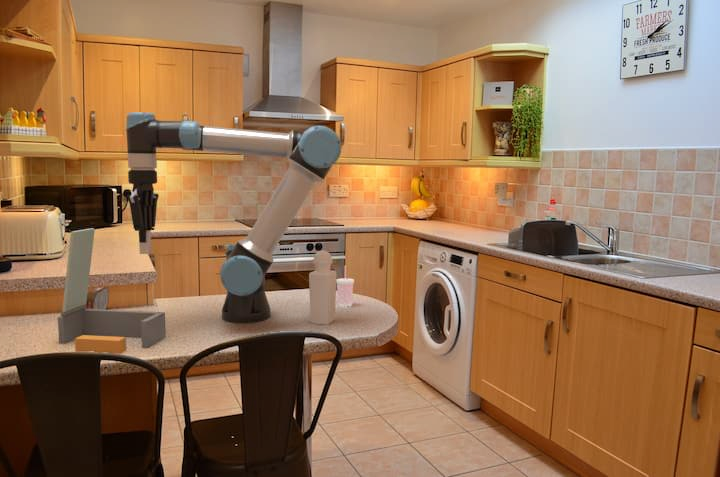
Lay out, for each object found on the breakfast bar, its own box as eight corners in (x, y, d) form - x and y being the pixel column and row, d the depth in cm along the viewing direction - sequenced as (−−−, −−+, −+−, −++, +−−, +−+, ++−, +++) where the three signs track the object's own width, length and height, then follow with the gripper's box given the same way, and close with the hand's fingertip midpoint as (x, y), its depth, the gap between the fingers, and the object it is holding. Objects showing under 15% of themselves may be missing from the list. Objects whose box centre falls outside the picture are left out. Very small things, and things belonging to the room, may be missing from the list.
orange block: (126, 350, 151) (125, 337, 151) (119, 354, 148) (118, 340, 148) (83, 348, 153) (82, 335, 153) (75, 352, 150) (74, 338, 149)
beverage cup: (338, 303, 204) (338, 263, 203) (355, 304, 203) (355, 264, 201) (334, 307, 198) (334, 266, 197) (352, 308, 197) (352, 267, 195)
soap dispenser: (308, 323, 178) (308, 251, 175) (317, 318, 184) (317, 248, 181) (328, 325, 175) (328, 252, 173) (336, 320, 181) (336, 249, 179)
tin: (101, 308, 196) (100, 283, 195) (111, 308, 196) (110, 283, 195) (84, 319, 181) (82, 293, 180) (94, 319, 181) (93, 292, 180)
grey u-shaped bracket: (165, 336, 163) (165, 312, 162) (147, 347, 153) (146, 321, 152) (82, 332, 166) (80, 308, 166) (59, 343, 157) (57, 317, 156)
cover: (95, 228, 161) (91, 227, 161) (74, 232, 152) (69, 231, 152) (86, 309, 165) (81, 308, 165) (65, 317, 156) (60, 316, 156)
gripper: (142, 169, 170) (145, 250, 173) (116, 169, 157) (120, 256, 160) (166, 169, 169) (169, 250, 172) (142, 169, 156) (146, 257, 159)
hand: (145, 253), depth 166 cm, fingers closed
